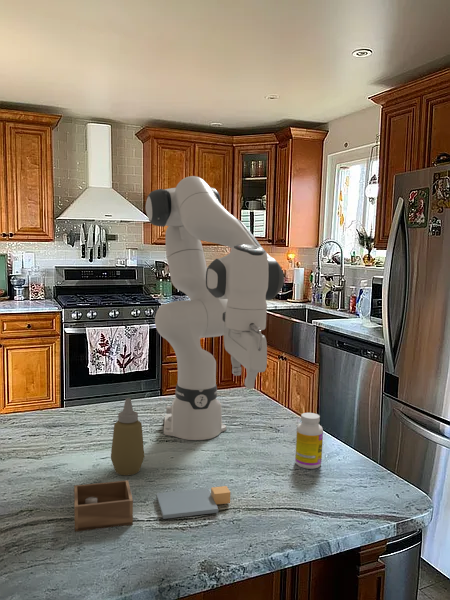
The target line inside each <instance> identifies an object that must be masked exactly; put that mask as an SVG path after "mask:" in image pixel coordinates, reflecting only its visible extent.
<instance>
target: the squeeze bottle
mask: <svg viewBox="0 0 450 600" xmlns="http://www.w3.org/2000/svg"><path fill="white" fill-rule="evenodd" d="M117 416H118V417H117V421H116V422H115V423H114V424H113V432H112V443H111V451H110V460H111V463H112V466H113V469H114V472H115V473H116V474H117V475H120V476H132V475H136V474H137V473H139V472H140V470H141V467H142V466H143V463H144V459H145V448H144V447H145V446H144V435H143V434H144V433H143V426H142V422H141V421H139V414H138V412H137V411H135V410H134V408H133V403H132V398H130V397H126V398H125V400H124V405H123V408H122V410H121V411H120V412H118V415H117Z"/></svg>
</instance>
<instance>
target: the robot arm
mask: <svg viewBox="0 0 450 600" xmlns="http://www.w3.org/2000/svg"><path fill="white" fill-rule="evenodd" d="M145 212H146V216H147V218H148V221H149V223H150V224H152V225H153V226H156V227H161V228H164V227H165V226H167V228H166V229H165V239H164V240H165V251H166V259H167V265H168V270H169V275H170V281H171V283H172V285H173V286H174V288H175V289H177V290H178V291H179V292H182V293H183V294H185V295H186V297H188V298H189V300H188V299H186V300H175V301H174V300H173V301H171V302H168V303H164V304H162V305H160V306H159V307H158V309H157V311H156V312H155V316H154V325H155V329H156V331H157V332H158V334H159V335H160V336H161V337H162V338H163V339H164V340H166V341H167V342H168V343H169V345H170V346H171V347H172V349H173V351H174V353H175V354H174V355H175V357H176V362H177V363H176V365H177V383H176V385H175V390H174V391H175V394H174V395H175V397H174V398H173V400H172V401H171V405H167V406H166V409H165V410H166V411H165V412H166V414H165V415H164V422H163V435H166V436H170V437H171V436H172V437H176V438H179V439H183V440H188V441H203V440H209V439H213V438H215V437H217V436H219V435H220V434H221V433H222V432H225V431H227V425H226V424H224V423H223V420H222V415H223V414H222V403H221V402H220V400H218V399H217V397H218V385H217V384H216V382H217V381H216V380H217V379H216V378H217V377H216V376H217V361H216V359H215V357H214V355H213V354H212V353H211V352H209V351H207V350H205V349H203V348H202V346H201V339H203V338H216V337H221V336H223V346H224V349H225V351H226V352H227V353H228V354H229V355H230V362H231V365H232V366H231V367H232V369H231V373H232V374H233V376H235V377H237V376H238V377H239V376H241V375H242V370H243V369H242V368H245V370H246V371H245V372H246V377H245V378H244V386H245V388H246V389H247V390H248V389H254V388H255V385H256V384H255V383H256V379H257V376H258V373H264V372H265V371H266V369H267V365H268V346H267V345H268V343H267V338H266V335H264V334H262V331H264V330H265V329H266V328H267V312H268V308H267V307H268V304H267V301H271V300H272V299H274V298H275V297H277V296H278V294H279V293H280V291H282V289H283V287H284V284H285V275H284V271H283V268H282V267H281V265H280V264H279V262H278V261H277V260H276V259H275V258H274V257H272V256H271V255H270V254H268V252H267V251H266V249H264V247H263V246H262V245H261V244H260V242H259V241H258V240H257V238H256V237H255V236H254V234H252V231H250V229H249V228H248V227H247V226H246V224H244V223H243V222H242V221H241V220H240V219H238V218H237V217H235V216H234V215H233V214H231V212H229V211H228V210H227V209H226V208H225V207H224V205H222V199H221V195H220V192H219V191H217V189H216V188H214V187H211V186H210V185H209V184H208V183H207V182H206V181H205V180H204V179H203V178H201V177H200V176H196V175H190V176H186V177H184V178H182V179H181V180H180V181H179V182H178V183H177V184H176V186H175V187H171V188H165V189H164V188H159V189H154V190H153V191H150V192H149V194H148V195H147V198H146V202H145ZM202 242H209V243H212V244H213V243H214V244H216V245H221V246H225V247H228V248H230V252H229V253H228V254H227V255H225V256H223V257H220V258H215V259H214V260H212V261H211V262H210V263H209V265H207V261H206V256H205V253H204V248H203V244H202ZM241 365H242V366H241Z"/></svg>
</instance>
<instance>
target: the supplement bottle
mask: <svg viewBox="0 0 450 600" xmlns="http://www.w3.org/2000/svg"><path fill="white" fill-rule="evenodd" d="M320 418H321V415H320V414H318V413H313V412H303V413H301V414H300V421H301V422H300V423H299V424H297V426H296V435H295V437H296V438H295V454H294V455H295V456H294V458H295V459H294V461H295V464H296V465H297V466H298V467H300V468H304V469H308V470H310V469H311V470H313V469H317V468H320V467H321V465H322V459H323V455H322V454H323V438H324V437H323V436H324V435H323V434H324V429H323V426H322V425H320V421H321V419H320Z"/></svg>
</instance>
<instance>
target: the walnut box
mask: <svg viewBox="0 0 450 600" xmlns="http://www.w3.org/2000/svg"><path fill="white" fill-rule="evenodd" d="M73 487H74V488H73V489H74V491H73V493H74V495H73V496H74V497H73V499H74V501H73V502H74V504H73V506H74V508H73V509H74V511H73V512H74V515H73V516H74V518H73V519H74V532H75V533H77V532H83V531H84V532H85V531H92V530H101V529H107V528H108V529H110V528H117V527H124V526H125V527H126V526H132V525H134V524H133V522H134V500H133V495H132V490H131V487H130V483H129V479H128V480H118V481H117V480H115V481H107V482H97V483H95V482H94V483H86V484H76V485H74V486H73Z"/></svg>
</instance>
